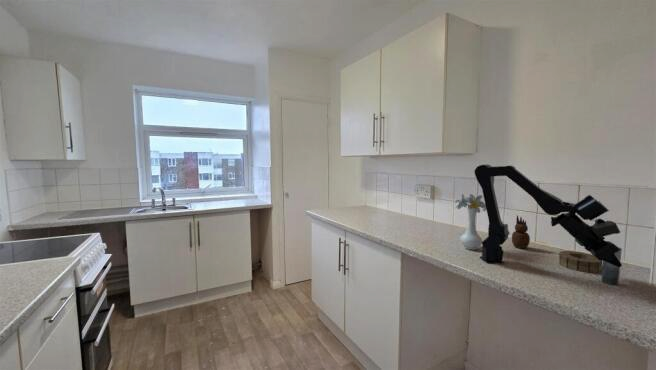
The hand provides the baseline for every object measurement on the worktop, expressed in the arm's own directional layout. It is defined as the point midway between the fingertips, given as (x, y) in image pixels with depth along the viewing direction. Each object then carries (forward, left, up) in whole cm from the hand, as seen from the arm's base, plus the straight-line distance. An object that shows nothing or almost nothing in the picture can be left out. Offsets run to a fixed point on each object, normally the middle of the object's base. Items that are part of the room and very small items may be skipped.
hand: (617, 263), depth 92 cm
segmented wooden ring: (+1, +15, -7) cm, 16 cm away
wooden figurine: (-7, +37, -7) cm, 38 cm away
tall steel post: (-1, +1, -7) cm, 7 cm away
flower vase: (-29, +38, -7) cm, 48 cm away
